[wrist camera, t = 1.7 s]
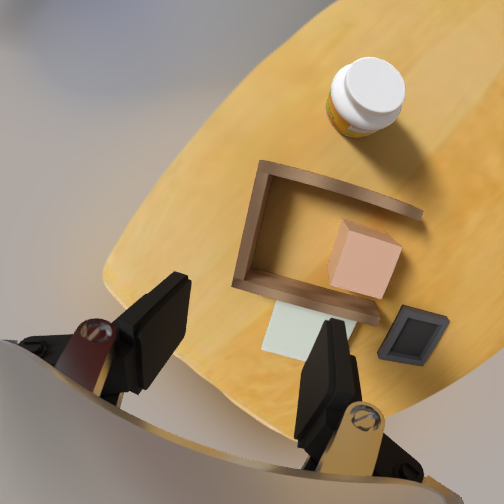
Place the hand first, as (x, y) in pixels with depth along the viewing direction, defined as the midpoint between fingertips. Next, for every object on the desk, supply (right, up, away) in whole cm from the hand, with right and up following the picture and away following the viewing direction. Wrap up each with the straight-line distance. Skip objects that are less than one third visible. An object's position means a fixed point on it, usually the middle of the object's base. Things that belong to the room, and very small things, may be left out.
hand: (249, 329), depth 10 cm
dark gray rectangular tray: (+19, -7, +17) cm, 27 cm away
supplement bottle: (+10, +16, +12) cm, 22 cm away
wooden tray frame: (+7, +4, +16) cm, 18 cm away
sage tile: (+7, -5, +19) cm, 21 cm away
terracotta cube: (+11, +3, +16) cm, 19 cm away
